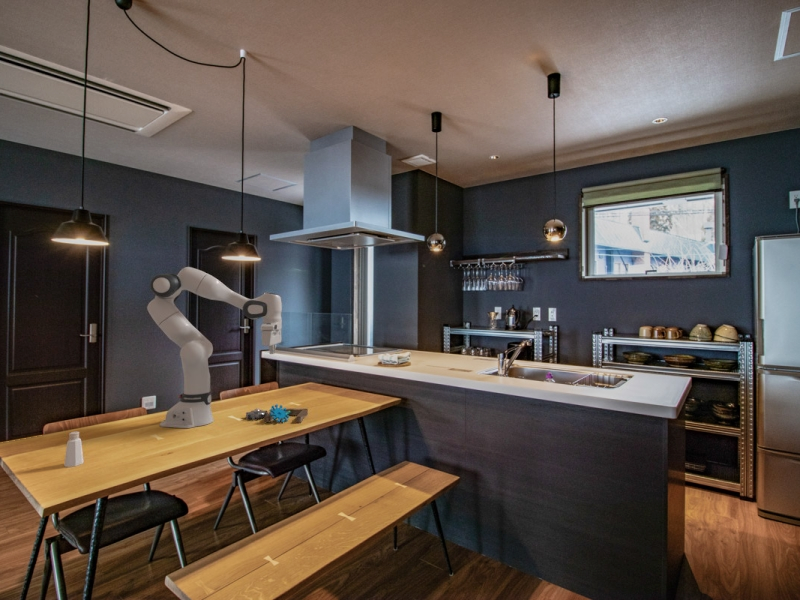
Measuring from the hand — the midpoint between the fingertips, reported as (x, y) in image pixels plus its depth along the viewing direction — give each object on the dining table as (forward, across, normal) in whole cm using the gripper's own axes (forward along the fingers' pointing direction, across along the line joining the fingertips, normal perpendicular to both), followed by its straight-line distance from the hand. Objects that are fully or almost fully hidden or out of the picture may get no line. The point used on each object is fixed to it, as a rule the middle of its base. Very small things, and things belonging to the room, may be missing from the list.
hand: (272, 353), depth 207 cm
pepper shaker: (+31, +61, -50) cm, 85 cm away
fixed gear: (+31, +1, -7) cm, 32 cm away
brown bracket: (+31, +3, +8) cm, 32 cm away
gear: (+31, +7, +6) cm, 33 cm away
